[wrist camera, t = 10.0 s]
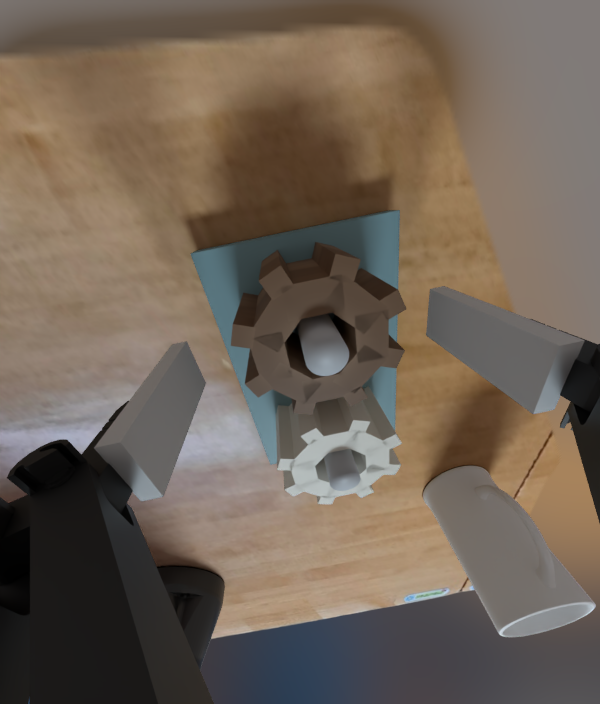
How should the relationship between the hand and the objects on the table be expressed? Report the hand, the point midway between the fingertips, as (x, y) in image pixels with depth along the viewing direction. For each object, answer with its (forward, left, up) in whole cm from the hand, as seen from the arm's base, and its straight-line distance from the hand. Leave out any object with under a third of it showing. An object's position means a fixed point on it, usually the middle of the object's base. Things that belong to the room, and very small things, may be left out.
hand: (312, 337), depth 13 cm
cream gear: (0, -9, -3) cm, 10 cm away
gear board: (0, -4, -5) cm, 7 cm away
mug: (+15, -26, -5) cm, 31 cm away
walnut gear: (0, 0, -3) cm, 3 cm away
